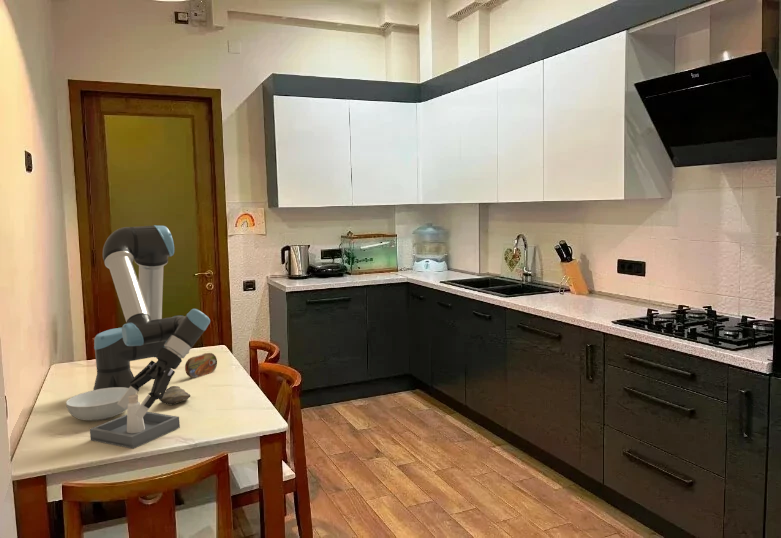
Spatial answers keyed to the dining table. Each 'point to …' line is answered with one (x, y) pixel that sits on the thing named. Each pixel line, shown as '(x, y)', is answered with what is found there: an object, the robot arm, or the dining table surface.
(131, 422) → the salt shaker
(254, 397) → the dining table surface
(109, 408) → the serving bowl
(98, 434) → the parts tray
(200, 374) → the tin
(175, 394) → the fossilized seashell
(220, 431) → the dining table surface
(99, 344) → the robot arm
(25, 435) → the dining table surface
